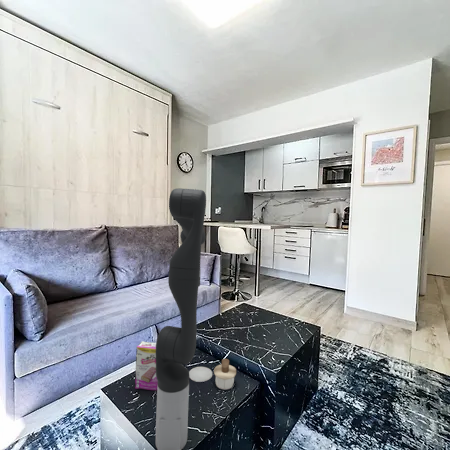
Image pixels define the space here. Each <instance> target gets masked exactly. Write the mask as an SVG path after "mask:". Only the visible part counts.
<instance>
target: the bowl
mask: <svg viewBox="0 0 450 450" xmlns="http://www.w3.org/2000/svg"><path fill="white" fill-rule="evenodd" d="M214 382H215V386H216V387H217V388H218V389H221V390H230V389H231V388H233V387H234V382H235V377H234V378H232V379H227V380H224V379H220V378H218V377H216V376H215V381H214Z"/></svg>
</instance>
